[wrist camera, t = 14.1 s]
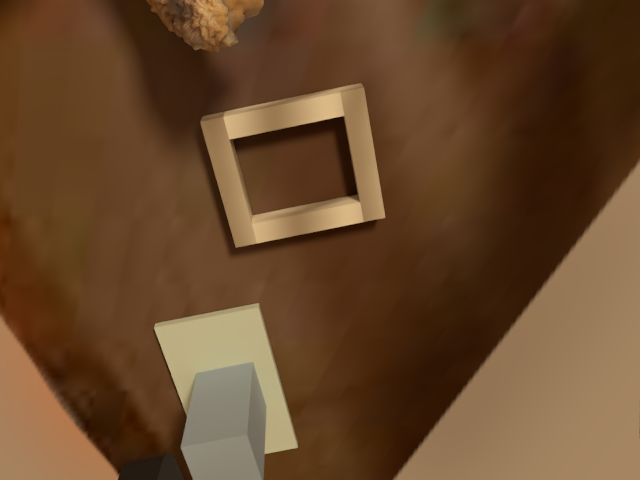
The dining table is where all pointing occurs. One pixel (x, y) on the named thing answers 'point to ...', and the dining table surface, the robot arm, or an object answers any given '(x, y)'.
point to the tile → (228, 360)
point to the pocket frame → (284, 115)
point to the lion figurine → (205, 20)
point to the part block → (226, 425)
